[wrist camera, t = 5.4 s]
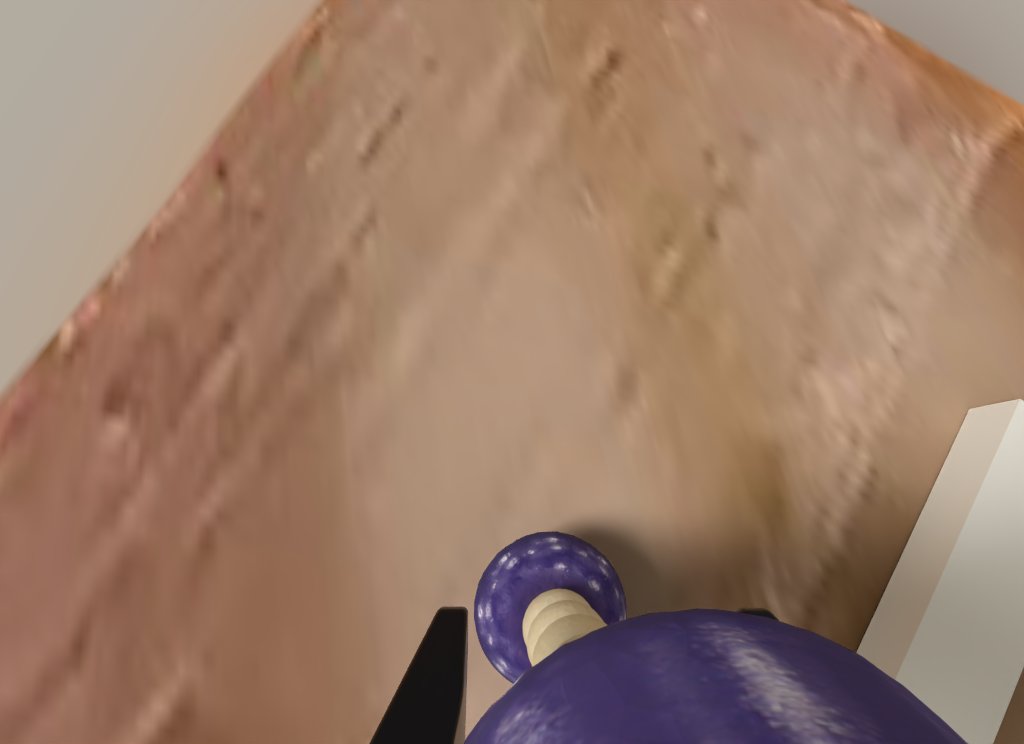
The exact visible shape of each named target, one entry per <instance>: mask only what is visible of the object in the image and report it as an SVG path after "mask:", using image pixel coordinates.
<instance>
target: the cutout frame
mask: <svg viewBox="0 0 1024 744" xmlns="http://www.w3.org/2000/svg"><path fill="white" fill-rule="evenodd" d="M856 653H857V654H859V655H861V656H863V657H864V658H865V659H867V660H868V661H869V662H871V663H872V664H873V665H875V666H876V667H877V668H879V669H880V670H882V671H883V672H884V673H886V674H887V675H888V676H890V677H891V678H893V679H894V680H896V681H897V682H899V683H901V684H902V685H903V686H905V687H906V688H907V689H908V690H909V691H910V692H911V693H913V694H914V695H915V696H916V697H917V698H918V699H919V700H921V701H922V702H923V703H924V704H925V705H926V706H927V707H929V708H930V709H931V710H932V711H933V712H934V713H935V714H937V715H938V716H939V717H940V718H941V719H942V720H943V721H945V722H946V723H947V724H948V725H949V726H950V727H951V728H952V729H953V730H954V731H955V732H956V733H957V734H958V735H959V736H961V737H962V738H963V739H964V740H965V741H966V742H967V743H968V744H993V743H994V740H995V738H996V735H997V733H998V730H999V728H1000V725H1001V723H1002V720H1003V718H1004V715H1005V713H1006V710H1007V708H1008V705H1009V703H1010V700H1011V698H1012V695H1013V693H1014V690H1015V688H1016V685H1017V683H1018V680H1019V678H1020V675H1021V673H1022V670H1023V668H1024V401H1023V400H1021V399H1017V400H1012V401H1007V402H1002V403H997V404H992V405H987V406H982V407H977V408H972V409H969V411H968V413H967V415H966V417H965V420H964V422H963V424H962V426H961V428H960V430H959V433H958V435H957V437H956V439H955V441H954V443H953V445H952V448H951V450H950V452H949V454H948V456H947V458H946V460H945V463H944V465H943V467H942V469H941V471H940V473H939V476H938V478H937V480H936V482H935V484H934V486H933V488H932V491H931V493H930V495H929V497H928V499H927V501H926V504H925V506H924V508H923V510H922V512H921V514H920V516H919V519H918V521H917V523H916V525H915V527H914V529H913V532H912V534H911V536H910V538H909V540H908V542H907V544H906V547H905V549H904V551H903V553H902V555H901V557H900V560H899V562H898V564H897V566H896V568H895V570H894V572H893V575H892V577H891V579H890V581H889V583H888V585H887V588H886V590H885V592H884V594H883V596H882V598H881V600H880V603H879V605H878V607H877V609H876V611H875V613H874V616H873V618H872V620H871V622H870V624H869V626H868V628H867V631H866V633H865V635H864V637H863V639H862V641H861V644H860V646H859V648H858V650H857V652H856Z"/></svg>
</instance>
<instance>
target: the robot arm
mask: <svg viewBox="0 0 1024 744" xmlns="http://www.w3.org/2000/svg"><path fill="white" fill-rule="evenodd" d="M736 612H739V613H745V614H751V615H757V616H763V617H768V618H771V619H774V620H777V621H779V620H778V619H777V618H776V617H775V616H774V615H773V614H772V613H771V612H770V611H768V610H767V609H765V608H740V609H738V610H737V611H736ZM467 656H468V610H467V609H466V608H465V607H441V608H440V609H439V610H438V611H437V613H436V614H435V616H434V618H433V620H432V622H431V624H430V626H429V628H428V630H427V632H426V634H425V636H424V638H423V640H422V642H421V644H420V646H419V648H418V650H417V652H416V654H415V656H414V658H413V659H412V661H411V663H410V665H409V667H408V669H407V671H406V673H405V675H404V677H403V679H402V681H401V683H400V685H399V687H398V689H397V691H396V693H395V695H394V697H393V699H392V701H391V703H390V705H389V706H388V708H387V710H386V712H385V714H384V716H383V718H382V720H381V722H380V724H379V726H378V728H377V730H376V732H375V734H374V736H373V738H372V740H371V742H370V744H463V743H464V742H465V720H466V688H467Z"/></svg>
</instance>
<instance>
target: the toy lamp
mask: <svg viewBox="0 0 1024 744" xmlns="http://www.w3.org/2000/svg"><path fill="white" fill-rule="evenodd" d="M474 620H475V625H476V631H477V635H478V639H479V642H480V644H481V647H482V650H483V651H484V653H485V655H486V657H487V658H488V660H489V661H490V663H491V664H492V665H493V667H494V668H495V669H496V670H497V671H498V672H499V673H500V674H501V675H502V676H504V677H505V678H506V679H507V680H508V681H510V682H511V683H513V685H512V687H511V688H510V689H509V690H508V691H507V692H506V694H505V695H503V696H502V697H501V698H500V699H499V700H497V701H496V702H495V703H494V704H493V705H491V707H490V708H489V709H488V710H487V712H486V713H485V714H484V715H483V717H482V718H481V719H480V720H479V722H478V723H477V724H476V726H475V727H474V728H473V730H472V731H471V733H470V734H469V735H468V737H467V738H466V740H465V742H464V743H463V744H968V743H967V742H966V741H965V740H964V739H963V738H962V737H961V736H959V735H958V734H957V733H956V732H955V731H954V730H953V729H952V728H951V727H950V726H949V725H948V724H947V723H946V722H945V721H943V720H942V719H941V718H940V717H939V716H938V715H937V714H935V713H934V712H933V711H932V710H931V709H930V708H929V707H927V706H926V705H925V704H924V703H923V702H922V701H921V700H919V699H918V698H917V697H916V696H915V695H914V694H913V693H911V692H910V691H909V690H908V689H907V688H906V687H905V686H903V685H902V684H901V683H899V682H897V681H896V680H894V679H893V678H891V677H890V676H888V675H887V674H886V673H884V672H883V671H882V670H880V669H879V668H877V667H876V666H875V665H873V664H872V663H871V662H869V661H868V660H867V659H865V658H864V657H863V656H861V655H859V654H857V653H855V652H853V651H851V650H849V649H847V648H845V647H843V646H841V645H839V644H837V643H835V642H833V641H831V640H829V639H827V638H825V637H822V636H820V635H818V634H815V633H813V632H811V631H809V630H805V629H801V628H797V627H795V626H792V625H789V624H786V623H783V622H780V621H777V620H774V619H771V618H768V617H763V616H757V615H751V614H745V613H739V612H732V611H725V610H718V609H691V610H684V611H677V612H660V613H649V614H646V615H642V616H638V617H634V618H631V619H627V620H626V599H625V596H624V591H623V588H622V584H621V582H620V580H619V577H618V575H617V573H616V571H615V569H614V568H613V566H612V565H611V564H610V562H609V561H608V560H607V559H606V557H605V556H604V555H603V554H601V553H600V552H599V551H598V550H597V549H596V548H595V547H593V546H592V545H590V544H589V543H587V542H585V541H583V540H581V539H579V538H577V537H575V536H572V535H569V534H565V533H560V532H538V533H534V534H531V535H527V536H525V537H522V538H520V539H518V540H516V541H515V542H513V543H512V544H510V545H508V546H507V547H505V548H504V549H503V550H501V551H500V552H499V553H498V554H497V555H496V556H495V558H494V559H493V560H492V561H491V563H490V564H489V565H488V567H487V568H486V570H485V571H484V573H483V575H482V578H481V579H480V581H479V584H478V588H477V592H476V597H475V602H474Z"/></svg>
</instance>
